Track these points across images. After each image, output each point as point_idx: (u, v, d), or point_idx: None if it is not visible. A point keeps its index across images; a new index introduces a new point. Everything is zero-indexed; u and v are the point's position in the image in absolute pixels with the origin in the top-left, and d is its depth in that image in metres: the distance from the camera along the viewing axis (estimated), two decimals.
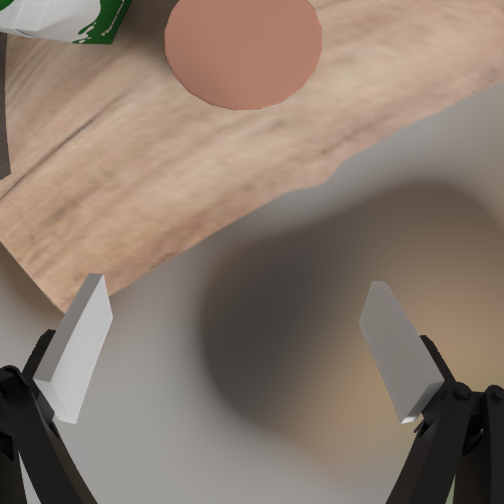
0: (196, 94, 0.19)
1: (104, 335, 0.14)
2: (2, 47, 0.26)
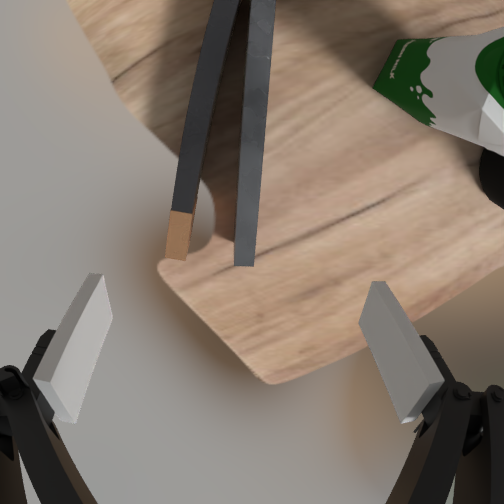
0: None
1: (104, 335, 0.14)
2: None
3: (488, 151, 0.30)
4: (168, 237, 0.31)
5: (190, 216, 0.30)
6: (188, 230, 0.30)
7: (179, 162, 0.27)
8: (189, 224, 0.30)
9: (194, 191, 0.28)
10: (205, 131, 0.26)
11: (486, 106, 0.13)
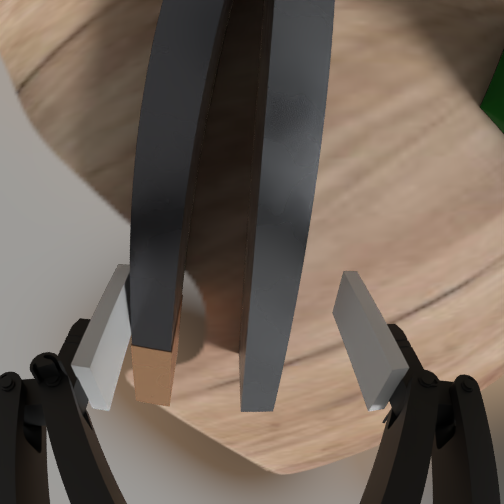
0: None
1: None
2: None
3: None
4: (135, 379, 0.16)
5: (168, 355, 0.15)
6: (168, 373, 0.16)
7: (132, 267, 0.13)
8: (168, 366, 0.15)
9: (170, 319, 0.14)
10: (181, 202, 0.11)
11: None
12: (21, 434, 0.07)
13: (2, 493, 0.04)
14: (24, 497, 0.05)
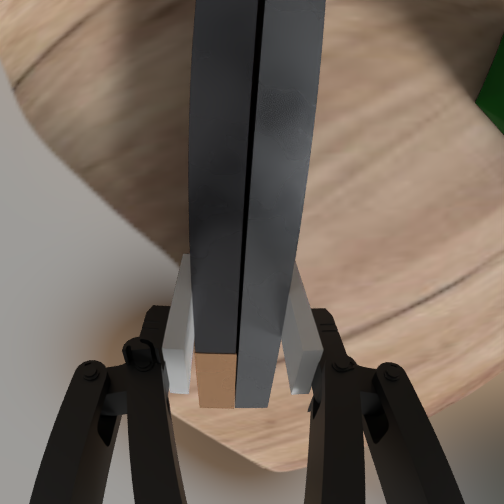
0: None
1: None
2: None
3: None
4: (199, 386, 0.17)
5: (233, 358, 0.16)
6: (233, 375, 0.16)
7: (193, 275, 0.13)
8: (233, 368, 0.16)
9: (234, 321, 0.14)
10: (240, 204, 0.12)
11: None
12: (95, 428, 0.08)
13: (57, 483, 0.05)
14: (80, 491, 0.06)
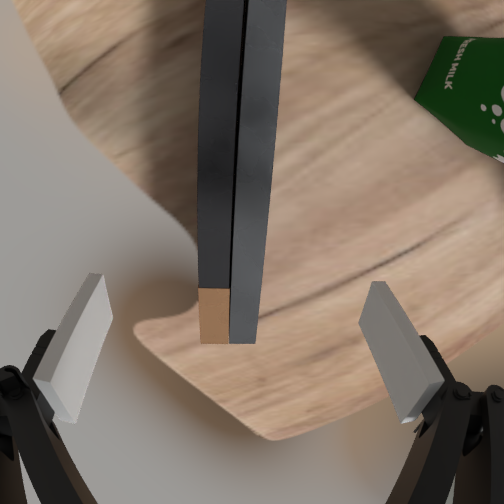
0: None
1: (104, 335, 0.14)
2: None
3: None
4: (201, 320, 0.22)
5: (227, 292, 0.21)
6: (227, 309, 0.22)
7: (199, 222, 0.19)
8: (227, 301, 0.22)
9: (228, 259, 0.20)
10: (230, 172, 0.18)
11: None
12: None
13: None
14: None
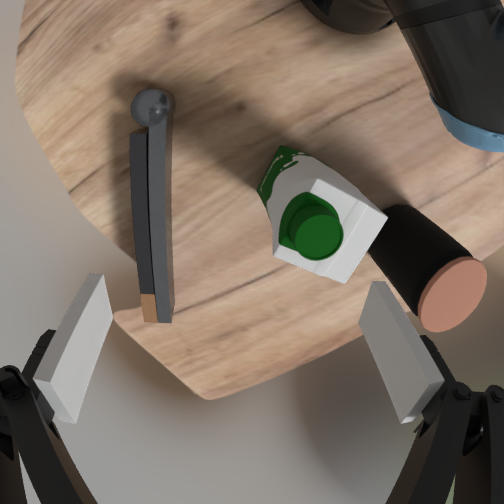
0: (426, 328, 0.34)
1: (104, 335, 0.14)
2: (170, 182, 0.40)
3: None
4: (143, 309, 0.44)
5: (153, 296, 0.43)
6: (154, 304, 0.44)
7: (137, 264, 0.41)
8: (154, 300, 0.44)
9: (152, 280, 0.42)
10: (148, 244, 0.39)
11: (278, 253, 0.27)
12: None
13: None
14: None
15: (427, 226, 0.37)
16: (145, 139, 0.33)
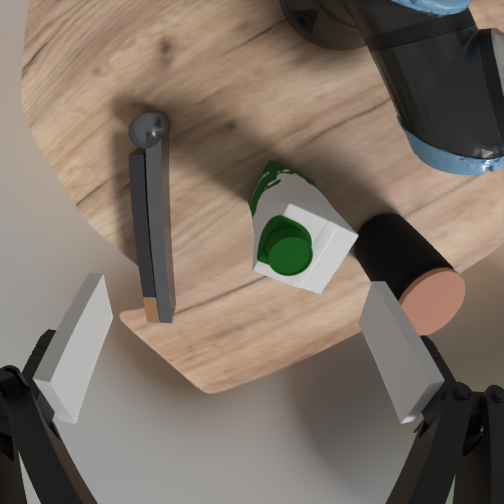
0: None
1: (104, 335, 0.14)
2: (168, 196, 0.44)
3: (359, 234, 0.48)
4: (146, 311, 0.49)
5: (155, 298, 0.48)
6: (156, 306, 0.48)
7: (140, 271, 0.45)
8: (155, 303, 0.48)
9: (153, 285, 0.46)
10: (149, 252, 0.44)
11: (256, 268, 0.31)
12: None
13: None
14: None
15: (409, 236, 0.40)
16: (143, 160, 0.37)
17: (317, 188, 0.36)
